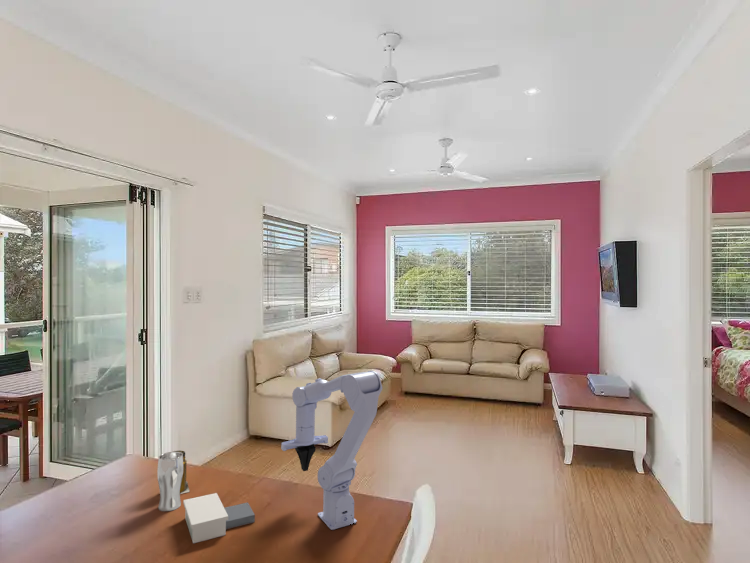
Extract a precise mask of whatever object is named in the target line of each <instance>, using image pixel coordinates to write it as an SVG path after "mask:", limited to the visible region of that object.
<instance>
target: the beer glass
mask: <svg viewBox="0 0 750 563" xmlns="http://www.w3.org/2000/svg"><path fill="white" fill-rule="evenodd" d="M156 474H157V483H158V487H159V488H158V489H159V494H160V495H159V503H158V510H159V511H160V512H172V511H175V510H177V509H179V508H180V507H181V505H182V501H181V494H180V487H181V482H182V476H183V453H181V452H173V451H169V452H164V453H162V454H160V455H159V456H158V461H157V472H156Z"/></svg>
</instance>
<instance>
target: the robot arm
mask: <svg viewBox="0 0 750 563" xmlns="http://www.w3.org/2000/svg"><path fill="white" fill-rule="evenodd" d="M383 389H384V388H383V384H382V381H381V378H380V375H379V374H378V373H377V372H376V371H374V370H368V371H366V372H365V371H364V372H355V373H349V374H343V375H339V376H338V377H335V378H333V379H331V380H329V381H328V380H326V379H322V378H316V379H315V380H314V382H307V383H306V384H305V385H304V386H296V388H294V389H293V391H292V398H291V399H292V402H293V404H294V405H295V408H296V410H295V438H293V439H290V440H288V441H283V442H281V444H280V445H281V446H280V448H281V450H282V452H286V451H287V450H292V449H295V450H294V451H295V452H296V454H297V457H298V459H299V462H300V468H301V470H302V471H303V472H308V470H309V466H310V464H311V459H312V458H313V455H314V453H315V452H316V446H315V445H319V444H328V443H329V436H328V435H327V434H325V435H324V434H323V435H315V430H316V429H315V423H316V409H317V405H318V402H321V401H324V400H326V399H327V400H328V399H329V398H330V397H331V395H332V394H333V393H334V392H338V391H340V393H343V395H344V397H345V399H346V401H347V404H348V406H349V408H350V410H351V411H353V414H352V416H351V419H350V421H349V423H348V425H347V427H346V429H345V431H344V434H343V435H342V438H341V440H340V442H339V444H338V446H337V448H336V451H335V453H334V454H333V455H332V456H331V457H329V458H328V459H327V460H326V461H325V462H324V464H323V465H321V466H320V467H319V468H318V470H317V482H318V484H319V486H320V487H321V489H323V494H322V495H323V496H322V497H323V500H322V501H323V502H322V503H323V505H322V506H323V509H322V511H320V512H317V516H318V517H319V518H320V519H321V521H322V522H324V524H326V526H327V527H328V528H329V529H330V531H331V530H332V531H334V530H336V529H337V530H338V529H340V528H343V527H348V526H350V524H351V525H353V523H354V524H357V523H358V520H357V519H356V518H355V500H354V497H353V495H351V492H350V486H351V485H352V481H353V480H354V479H355V476H356V468H357V466H358V463H357V461H356V459H355V458H356V456H357V454H358V452H359V450H360V448H361V446H362V444H363V442H364V440H365V438H366V437H367V434H368V432H369V430H370V428H371V426H372V424H373V423H374V419H375V418H376V416H377V413H378V404H379V397H380V395H381V392H382V391H383ZM356 522H357V523H356Z"/></svg>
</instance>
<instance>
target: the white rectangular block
mask: <svg viewBox="0 0 750 563" xmlns="http://www.w3.org/2000/svg"><path fill="white" fill-rule="evenodd" d="M182 504H183V507H184V510H185V515H184V516H185V518H184V519H185V521H186V526H187V528H188V532H189V535H190V538H191V540H192V541H191V542H192V544H196V543H197V544H198V543H200V542H204V541H208V540H211V539H215V538H219V537H224V536H226V532H227V531H226V530H227V529H226V520H228V514H227V512H226V510H225V507H224V504H223V503H222V501H221V498H220V496H219V495H218V492H214V493H210V494H205V495H200V496H197V497H193V498H192V497H191V498H187V499H183V502H182Z"/></svg>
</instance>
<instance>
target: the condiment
mask: <svg viewBox="0 0 750 563" xmlns="http://www.w3.org/2000/svg"><path fill="white" fill-rule="evenodd" d="M172 452H181V453H183V476H182V482H181V487H180V495H181V494H185V493H187V494H188V493H190V488H189V482H188V480H187V459H186V451H184V450H174V451H173V450H172Z"/></svg>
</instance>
